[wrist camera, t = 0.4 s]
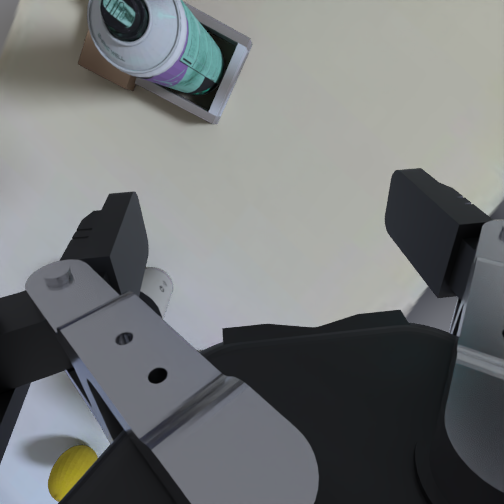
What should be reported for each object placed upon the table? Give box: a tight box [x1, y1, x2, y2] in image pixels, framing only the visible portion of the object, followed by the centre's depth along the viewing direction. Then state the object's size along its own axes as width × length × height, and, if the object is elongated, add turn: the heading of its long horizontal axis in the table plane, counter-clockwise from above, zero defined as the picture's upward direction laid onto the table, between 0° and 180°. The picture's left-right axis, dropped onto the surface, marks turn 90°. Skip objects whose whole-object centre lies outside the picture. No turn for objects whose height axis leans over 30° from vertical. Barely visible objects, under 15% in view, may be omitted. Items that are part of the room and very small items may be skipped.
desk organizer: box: [78, 2, 252, 124], centre depth 35 cm, size 14×15×4 cm
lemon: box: [48, 445, 98, 502], centre depth 51 cm, size 6×6×8 cm
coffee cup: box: [139, 267, 173, 319], centre depth 41 cm, size 7×7×10 cm
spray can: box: [87, 0, 225, 95], centre depth 28 cm, size 6×6×20 cm
